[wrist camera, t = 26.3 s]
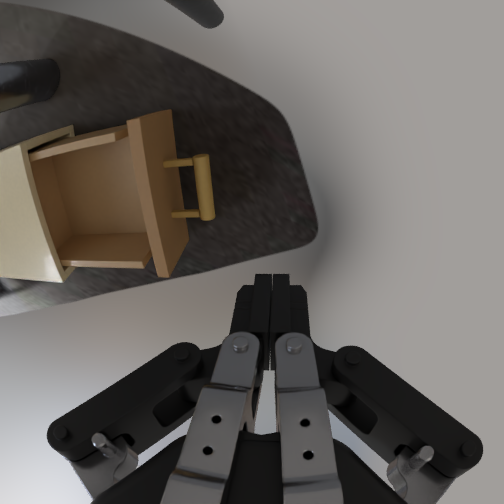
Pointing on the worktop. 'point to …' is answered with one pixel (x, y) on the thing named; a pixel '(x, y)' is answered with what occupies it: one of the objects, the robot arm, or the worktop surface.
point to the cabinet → (27, 216)
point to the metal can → (27, 82)
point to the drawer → (119, 195)
